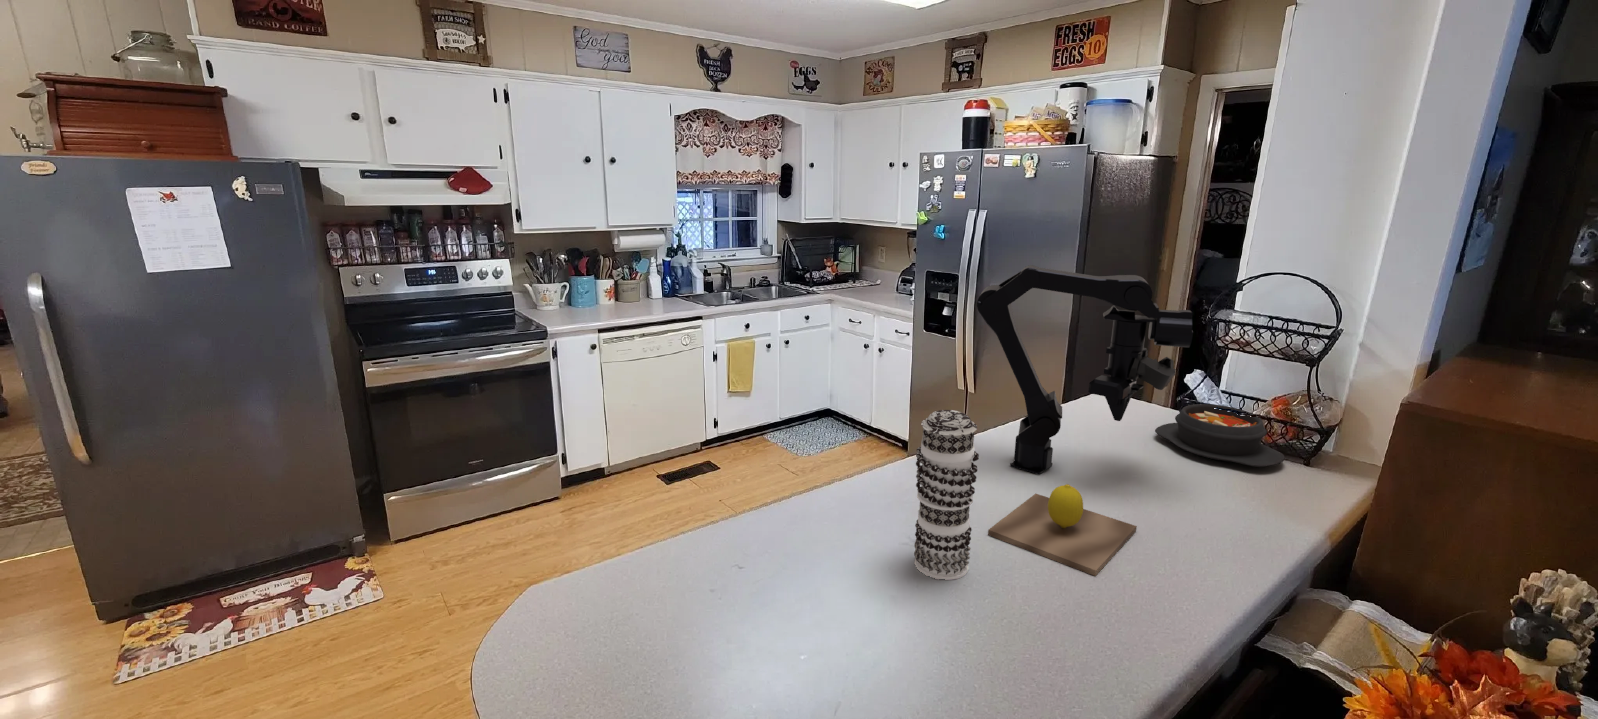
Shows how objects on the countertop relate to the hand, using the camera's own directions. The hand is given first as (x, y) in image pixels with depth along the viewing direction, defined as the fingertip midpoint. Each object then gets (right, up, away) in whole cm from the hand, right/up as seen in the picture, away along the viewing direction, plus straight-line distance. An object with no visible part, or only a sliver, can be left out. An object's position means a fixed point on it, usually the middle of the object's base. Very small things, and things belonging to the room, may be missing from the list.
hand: (1117, 420), depth 134 cm
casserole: (+28, -8, +15) cm, 33 cm away
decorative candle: (-40, -21, -26) cm, 52 cm away
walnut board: (-18, -18, -18) cm, 31 cm away
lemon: (-18, -17, -18) cm, 30 cm away
